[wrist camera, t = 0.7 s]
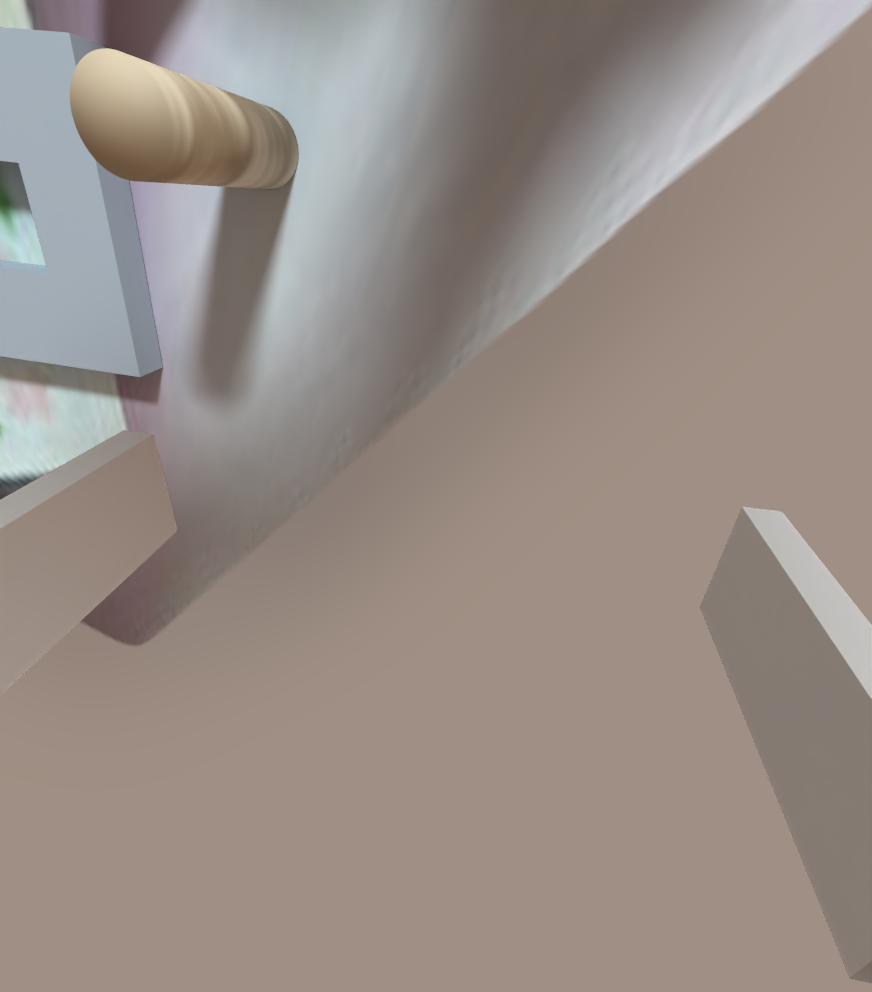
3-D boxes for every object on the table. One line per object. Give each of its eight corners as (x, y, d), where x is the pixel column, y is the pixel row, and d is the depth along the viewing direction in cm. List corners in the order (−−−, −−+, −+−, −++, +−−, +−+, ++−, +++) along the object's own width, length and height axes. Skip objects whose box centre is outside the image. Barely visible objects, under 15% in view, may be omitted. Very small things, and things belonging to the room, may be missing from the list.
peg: (228, 102, 29) (56, 44, 18) (296, 108, 28) (161, 52, 18) (236, 185, 31) (85, 175, 20) (299, 192, 30) (179, 186, 20)
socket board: (-149, 24, 30) (-203, 10, 28) (104, 45, 28) (69, 32, 26) (-34, 338, 39) (-67, 346, 37) (162, 367, 37) (140, 377, 35)
